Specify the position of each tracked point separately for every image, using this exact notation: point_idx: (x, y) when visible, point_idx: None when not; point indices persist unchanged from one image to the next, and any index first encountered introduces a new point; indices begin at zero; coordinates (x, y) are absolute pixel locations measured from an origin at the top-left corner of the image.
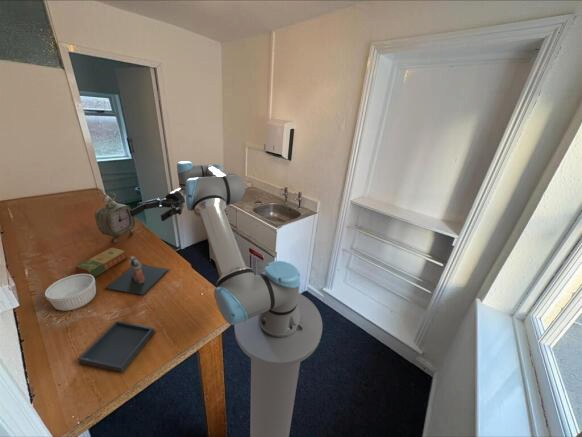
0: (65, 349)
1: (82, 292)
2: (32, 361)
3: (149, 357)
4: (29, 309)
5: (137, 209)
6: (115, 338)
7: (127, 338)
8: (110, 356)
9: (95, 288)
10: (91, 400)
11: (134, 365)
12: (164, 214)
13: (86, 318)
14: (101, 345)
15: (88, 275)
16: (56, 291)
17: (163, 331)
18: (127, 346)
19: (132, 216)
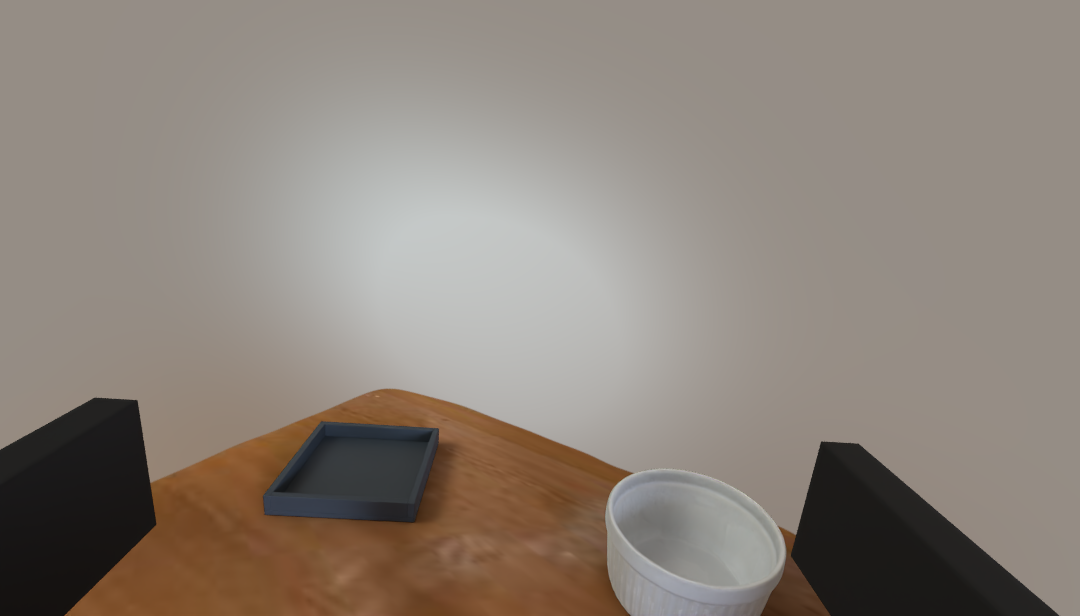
0: (505, 461)
1: (607, 504)
2: (548, 441)
3: (260, 461)
4: None
5: (938, 613)
6: (387, 482)
7: (349, 485)
8: (370, 450)
9: (639, 603)
10: (360, 408)
11: (297, 447)
12: (31, 447)
13: (545, 530)
14: (415, 467)
15: (712, 585)
16: (748, 541)
17: (228, 520)
18: (336, 469)
19: (794, 551)
